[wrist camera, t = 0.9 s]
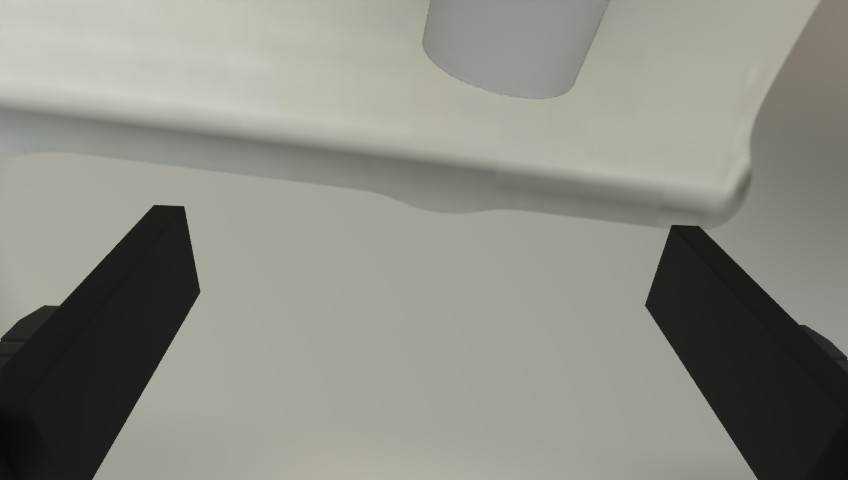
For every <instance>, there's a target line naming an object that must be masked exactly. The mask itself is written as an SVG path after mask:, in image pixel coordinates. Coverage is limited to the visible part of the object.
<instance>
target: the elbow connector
mask: <svg viewBox="0 0 848 480" xmlns="http://www.w3.org/2000/svg"><path fill="white" fill-rule="evenodd" d="M609 1H610V0H430V5H429V10H428V15H427V20H426V25H425V30H424V35H423V41H422V44H423V49H424V51H425V53H426V54H427V56H428V57H429V58H430V59H431V60H432V61H433V62H434V63H435V64H436V65H437V66H438V67H439V68H441V69H442V70H444V71H445V72H447V73H448V74H450V75H451V76H453V77H455V78H457V79H459V80H461V81H463V82H465V83H467V84H469V85H472V86H474V87H477V88H480V89H483V90H486V91H489V92H493V93H496V94H500V95H505V96H510V97H517V98H526V99H545V98H552V97H557V96H560V95H563V94H564V93H566V92H568V91H569V90H570V89H571V88H572V87H573V85H574V83H575V81H576V78H577V76H578V74H579V71H580V69H581V67H582V64H583V62H584V60H585V57H586V55H587V53H588V50H589V48H590V45H591V43H592V41H593V38H594V36H595V34H596V31H597V29H598V27H599V24H600V22H601V20H602V17H603V15H604V13H605V10H606V8H607V6H608V3H609Z"/></svg>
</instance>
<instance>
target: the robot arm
mask: <svg viewBox="0 0 848 480" xmlns="http://www.w3.org/2000/svg"><path fill="white" fill-rule="evenodd" d="M199 294H200V288H199V282H198V277H197V272H196V267H195V261H194V256H193V251H192V245H191V241H190V235H189V229H188V224H187V219H186V213H185V208H184V206H165V205H154V206H153V207H152V208H151V209H150V210H149V211H148V212H147V213H146V214H145V215H144V217H143V218H142V219H141V220H140V221H139V222H138V223H137V224H136V225H135V226H134V227H133V228H132V229H131V230H130V232H129V233H127V235H126V236H125V237H124V238H123V239H122V240H121V241H120V242H119V243H118V244H117V245H116V246H115V248H114V249H113V250H112V251H111V252H110V253H109V254H108V255H107V256H106V257H105V258H104V259H103V260H102V261H101V262H100V263H99V264H98V266H97V267H96V268H95V269H94V270H93V271H92V272H91V273H90V274H89V275H88V276H87V277H86V278H85V279H84V280H83V282H82V283H81V284H80V285H79V286H78V287H77V288H76V289H75V290H74V291H73V292H72V293H71V294H70V296H68V298H67V299H66V300H65V301H64V302H63V303H62V304H61V305H60V306H47V305H45V306H43V307H41V308H39V309H38V310H36V311H34V312H32V313H31V314H29V315H28V316H26V317H24V318H22V319H21V320H19V321H18V322H17V323H16V324H15V325H14V326H13V327H12V328H11V329H10V330H9V331H8V332H7V333H6V334H5V335H4V336H3V337H2V338H1V341H0V480H92V479H93V477H94V476H95V474H96V472H97V470H98V469H99V467H100V465H101V463H102V462H103V460H104V458H105V456H106V455H107V453H108V451H109V449H110V448H111V446H112V444H113V443H114V441H115V439H116V437H117V436H118V434H119V432H120V430H121V429H122V427H123V425H124V424H125V422H126V420H127V418H128V417H129V415H130V413H131V411H132V410H133V408H134V406H135V404H136V403H137V401H138V399H139V398H140V396H141V394H142V392H143V391H144V389H145V387H146V385H147V384H148V382H149V380H150V379H151V377H152V375H153V373H154V372H155V370H156V368H157V366H158V365H159V363H160V361H161V360H162V358H163V356H164V354H165V353H166V351H167V349H168V347H169V346H170V344H171V342H172V340H173V339H174V337H175V335H176V333H177V332H178V330H179V328H180V327H181V325H182V323H183V321H184V320H185V318H186V316H187V314H188V313H189V311H190V309H191V307H192V306H193V304H194V302H195V300H196V299H197V297H198V295H199ZM645 306H646V308H647V309H648V311H649V312H650V314H651V315H652V317H653V318H654V320H655V322H656V323H657V324H658V326H659V327H660V329H661V331H662V332H663V334H664V335H665V337H666V339H667V340H668V341H669V343H670V345H671V346H672V347H673V349H674V351H675V352H676V354H677V355H678V357H679V358H680V360H681V362H682V363H683V365H684V366H685V368H686V369H687V371H688V372H689V374H690V376H691V377H692V378H693V380H694V381H695V383H696V385H697V386H698V388H699V389H700V391H701V392H702V394H703V396H704V397H705V399H706V400H707V401H708V403H709V405H710V406H711V408H712V409H713V411H714V413H715V414H716V416H717V417H718V419H719V420H720V422H721V423H722V425H723V426H724V428H725V429H726V431H727V433H728V434H729V436H730V437H731V439H732V440H733V442H734V443H735V445H736V446H737V448H738V450H739V451H740V452H741V454H742V456H743V457H744V459H745V460H746V462H747V463H748V465H749V466H750V468H751V469H752V471H753V472H754V474H755V476H756V477H757V479H758V480H848V360H847V357H846V356H845V355H844V354H843V353H842V352H841V351H840V350H839V349H838V348H837V347H836V346H835V345H834V344H833V343H832V342H830V341H829V340H828V339H826V338H825V337H823V336H822V335H820V334H818V333H817V332H815V331H814V330H812V329H810V328H809V327H807V326H806V325H798V324H797V322H795V321H794V320H793V319H792V318H791V317H790V316H789V315H788V314H787V313H786V312H785V311H784V310H783V309H782V308H781V307H780V306H779V305H778V304H777V303H776V302H775V301H774V300H773V299H772V298H771V297H770V296H769V295H768V294H767V293H766V292H765V291H764V290H763V289H762V288H761V287H760V286H759V285H758V284H757V283H756V282H755V281H754V280H753V279H752V278H751V277H750V276H749V275H748V274H747V273H746V272H745V271H744V270H743V269H742V268H741V267H740V266H739V265H738V264H737V263H735V261H734V260H733V259H732V258H731V257H730V256H728V254H727V253H726V252H725V251H724V250H723V249H721V247H720V246H719V245H718V244H717V243H716V242H715V241H714V240H712V239H711V238H710V237H709V236H708V235H707V234H706V233H705V232H704V231H703V230H702V229H701V228H700V227H699V226H686V225H672V226H671V229H670V232H669V235H668V238H667V241H666V244H665V248H664V250H663V253H662V256H661V259H660V262H659V265H658V268H657V271H656V274H655V277H654V280H653V283H652V286H651V289H650V292H649V295H648V298H647V301H646V304H645Z"/></svg>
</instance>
